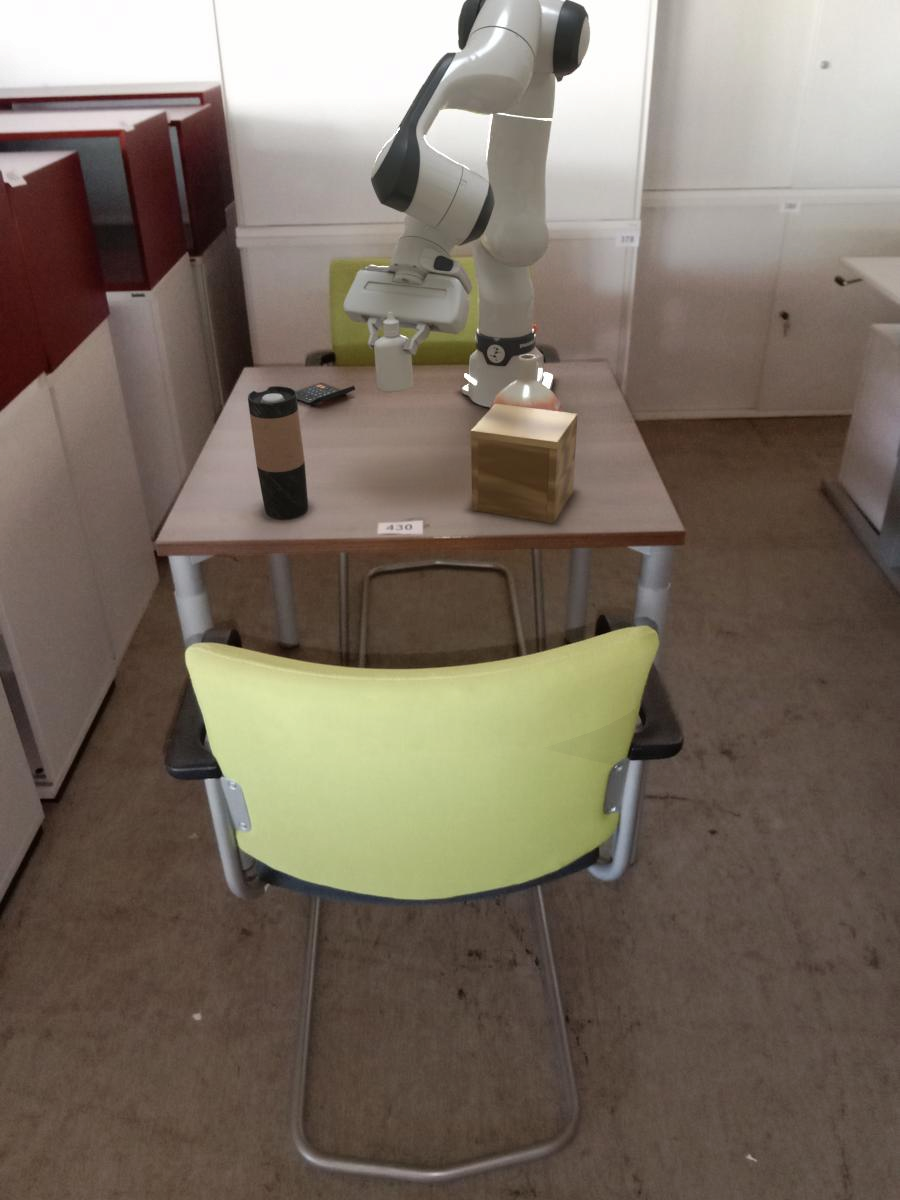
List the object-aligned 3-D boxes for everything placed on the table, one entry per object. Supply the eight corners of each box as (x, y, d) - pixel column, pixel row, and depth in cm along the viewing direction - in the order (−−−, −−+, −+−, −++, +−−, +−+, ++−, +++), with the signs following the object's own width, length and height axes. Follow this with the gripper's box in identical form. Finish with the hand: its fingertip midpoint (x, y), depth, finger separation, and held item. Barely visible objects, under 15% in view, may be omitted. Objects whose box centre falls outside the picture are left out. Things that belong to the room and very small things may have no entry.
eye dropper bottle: (381, 383, 149) (375, 307, 143) (415, 384, 148) (411, 308, 142) (374, 392, 146) (368, 316, 139) (409, 394, 145) (405, 316, 138)
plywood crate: (495, 479, 162) (495, 403, 154) (573, 491, 158) (577, 413, 150) (471, 510, 153) (470, 430, 145) (553, 523, 148) (557, 442, 141)
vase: (559, 466, 166) (564, 370, 156) (483, 462, 168) (483, 368, 158) (563, 436, 177) (568, 345, 168) (492, 433, 179) (493, 342, 170)
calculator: (321, 386, 204) (320, 373, 202) (356, 399, 197) (355, 386, 195) (287, 398, 198) (285, 384, 196) (321, 412, 191) (320, 398, 190)
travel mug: (302, 522, 150) (288, 404, 139) (257, 519, 151) (239, 402, 141) (315, 500, 157) (303, 386, 146) (272, 498, 158) (256, 384, 147)
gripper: (352, 253, 146) (324, 332, 144) (469, 263, 138) (442, 348, 136) (368, 275, 152) (342, 352, 150) (482, 286, 144) (456, 368, 142)
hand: (391, 350), depth 143 cm, fingers closed on eye dropper bottle, 5 cm apart
